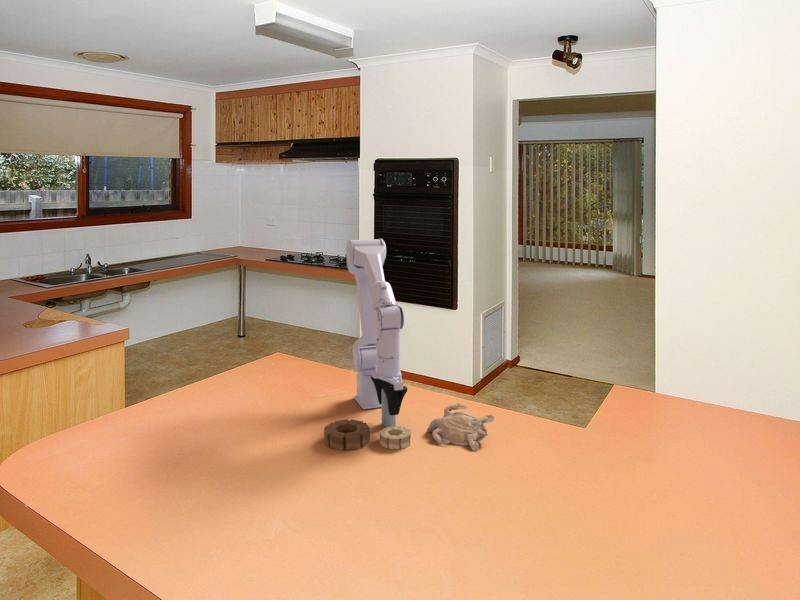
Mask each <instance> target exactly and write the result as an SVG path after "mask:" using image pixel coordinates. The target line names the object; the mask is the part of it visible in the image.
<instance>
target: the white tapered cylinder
mask: <svg viewBox="0 0 800 600" xmlns="http://www.w3.org/2000/svg"><path fill="white" fill-rule="evenodd" d="M396 416H397V415H392V416H391V415H390V414H389V410H388V402H387V398H386V395H385V392H384V390H383V389H382V407H381V426H382V427H383V428H386V427H388V426H390V427H391V426H397V424H396V423H397V421H396V419H397V418H396Z"/></svg>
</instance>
